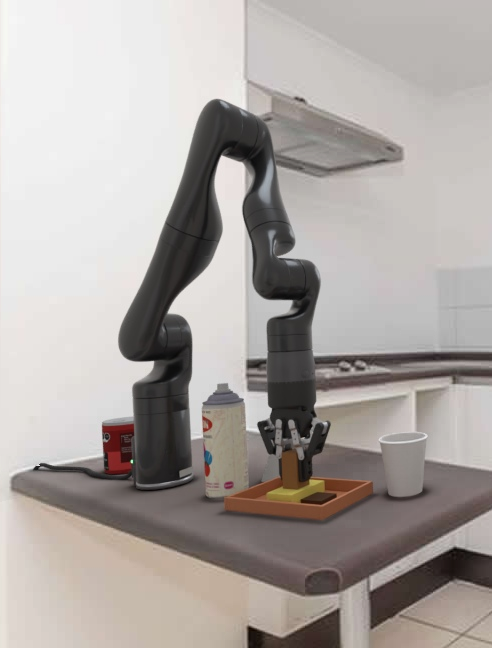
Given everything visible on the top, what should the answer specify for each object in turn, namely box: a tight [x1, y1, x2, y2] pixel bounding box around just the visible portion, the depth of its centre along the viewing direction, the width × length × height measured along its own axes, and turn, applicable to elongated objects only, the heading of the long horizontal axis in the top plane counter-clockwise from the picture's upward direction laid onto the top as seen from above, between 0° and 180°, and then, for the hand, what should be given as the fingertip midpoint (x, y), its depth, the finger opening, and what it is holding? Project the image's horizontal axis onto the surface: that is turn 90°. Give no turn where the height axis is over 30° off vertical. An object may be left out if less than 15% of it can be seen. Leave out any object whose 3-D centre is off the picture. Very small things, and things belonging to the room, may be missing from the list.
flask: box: [260, 441, 285, 483], centre depth 107 cm, size 7×7×10 cm
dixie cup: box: [378, 431, 429, 498], centre depth 96 cm, size 8×8×10 cm
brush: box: [267, 448, 325, 503], centre depth 93 cm, size 5×8×8 cm, turn 161°
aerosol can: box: [201, 382, 250, 499], centre depth 99 cm, size 7×7×20 cm
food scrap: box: [301, 492, 337, 505], centre depth 91 cm, size 4×4×1 cm
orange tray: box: [223, 476, 374, 521], centre depth 92 cm, size 19×13×2 cm
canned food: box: [101, 416, 134, 475], centre depth 120 cm, size 8×8×11 cm
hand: (295, 479), depth 93 cm, fingers closed on brush, 3 cm apart
